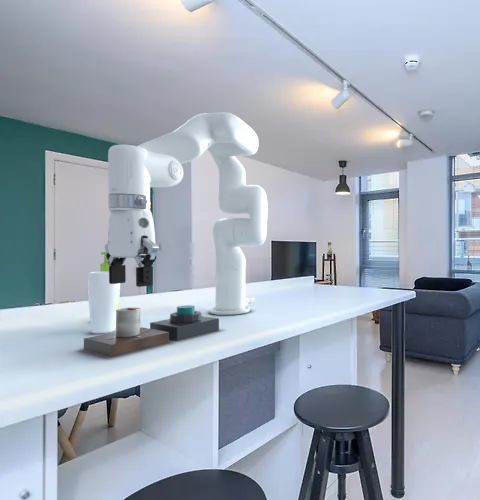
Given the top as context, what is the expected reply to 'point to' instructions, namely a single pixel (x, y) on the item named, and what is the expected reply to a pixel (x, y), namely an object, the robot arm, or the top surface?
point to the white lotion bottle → (102, 302)
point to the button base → (186, 325)
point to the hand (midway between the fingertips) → (130, 284)
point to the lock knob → (127, 322)
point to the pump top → (185, 310)
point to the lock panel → (125, 342)
